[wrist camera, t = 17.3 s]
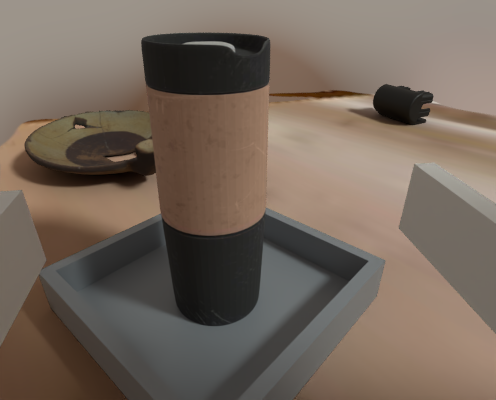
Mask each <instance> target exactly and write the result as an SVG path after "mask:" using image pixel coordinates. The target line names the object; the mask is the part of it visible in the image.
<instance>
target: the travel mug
mask: <svg viewBox="0 0 496 400" xmlns="http://www.w3.org/2000/svg"><path fill="white" fill-rule="evenodd" d="M141 44H142V54H143V63H144V72H145V81H146V89H147V97H148V106H149V115H150V124H151V132H152V141H153V150H154V158H155V167H156V176H157V184H158V193H159V202H160V210H161V217H162V223H163V229H164V235H165V241H166V247H167V253H168V260H169V266H170V272H171V278H172V284H173V290H174V295H175V300H176V304H177V307H178V308H179V310H180V312H181V313H182V314H183V315H184V316H185V317H186V318H188V319H189V320H191V321H193V322H195V323H198V324H201V325H206V326H223V325H228V324H232V323H235V322H237V321H239V320H241V319H243V318H244V317H246V316H247V315H248V314H249V313H250V312H251V311H252V310H253V309H254V307H255V306H256V304H257V301H258V298H259V290H260V279H261V266H262V252H263V239H264V226H265V212H266V210H265V209H266V183H267V147H268V110H269V74H270V40H269V38H267V37H264V36H259V35H250V34H236V33H174V34H160V35H152V36H147V37H144V38H142V42H141Z"/></svg>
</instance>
